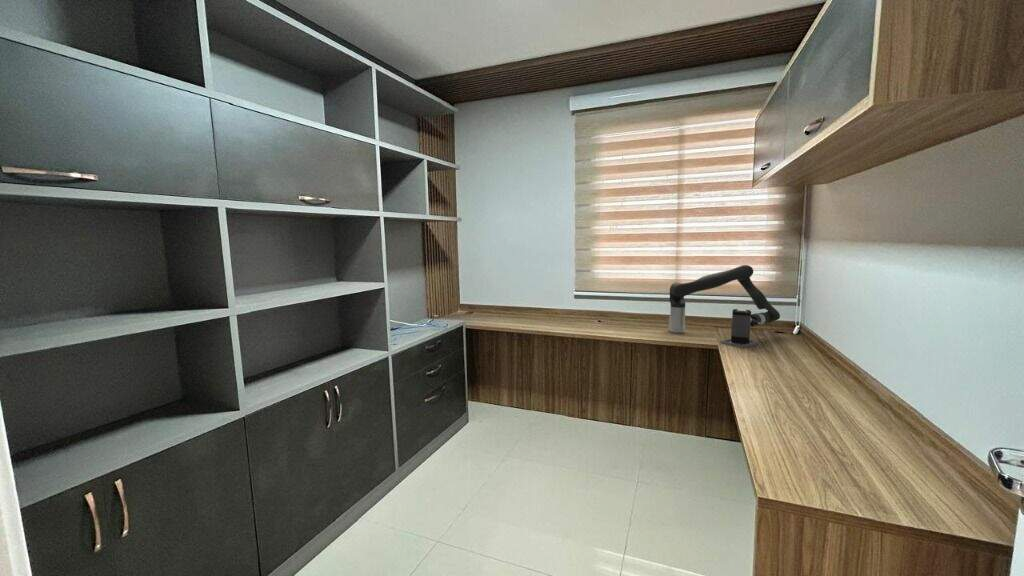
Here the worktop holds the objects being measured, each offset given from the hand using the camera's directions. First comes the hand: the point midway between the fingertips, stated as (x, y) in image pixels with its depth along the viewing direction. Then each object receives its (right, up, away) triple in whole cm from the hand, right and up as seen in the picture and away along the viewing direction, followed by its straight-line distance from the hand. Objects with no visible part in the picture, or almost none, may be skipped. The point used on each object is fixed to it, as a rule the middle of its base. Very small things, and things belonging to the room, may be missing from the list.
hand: (739, 323), depth 232 cm
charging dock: (+1, -12, +2) cm, 12 cm away
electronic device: (+1, -12, +1) cm, 12 cm away
